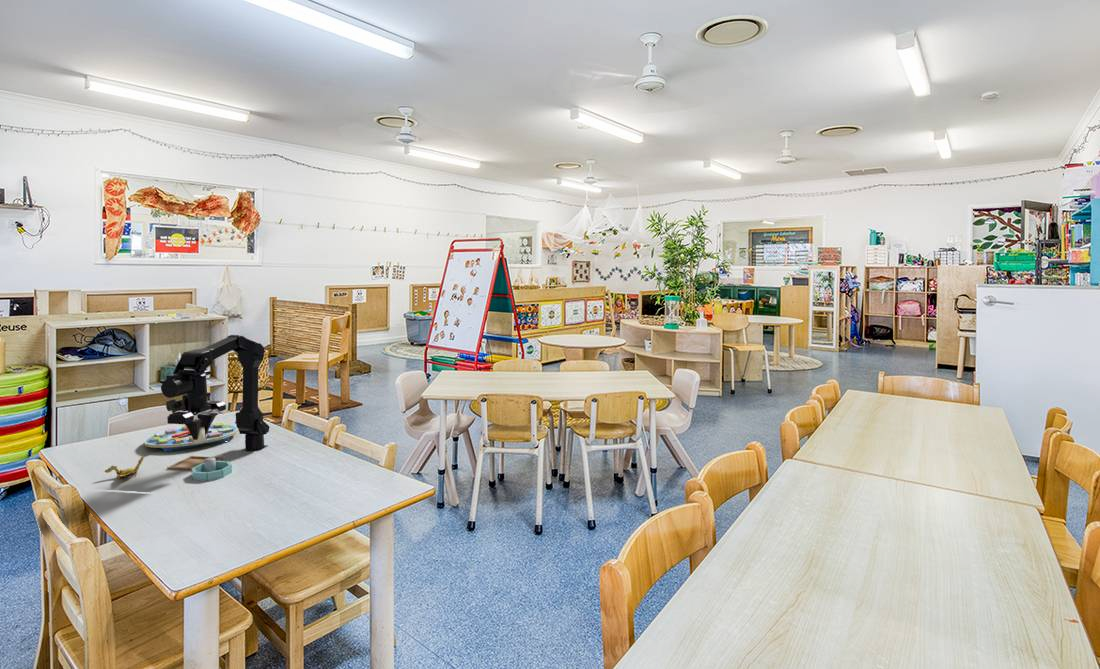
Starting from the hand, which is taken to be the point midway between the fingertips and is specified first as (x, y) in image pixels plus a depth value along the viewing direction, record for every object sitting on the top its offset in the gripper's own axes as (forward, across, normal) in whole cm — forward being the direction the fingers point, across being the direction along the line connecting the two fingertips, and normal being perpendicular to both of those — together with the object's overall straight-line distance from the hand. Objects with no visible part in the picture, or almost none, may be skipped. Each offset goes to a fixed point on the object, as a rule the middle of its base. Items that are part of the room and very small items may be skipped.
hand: (199, 438), depth 181 cm
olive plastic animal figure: (+12, +7, -20) cm, 25 cm away
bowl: (+12, +1, +4) cm, 13 cm away
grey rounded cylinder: (+12, -1, +3) cm, 12 cm away
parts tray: (+12, -6, -7) cm, 16 cm away
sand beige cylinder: (+1, 0, 0) cm, 1 cm away
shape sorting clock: (+13, -30, -28) cm, 43 cm away
